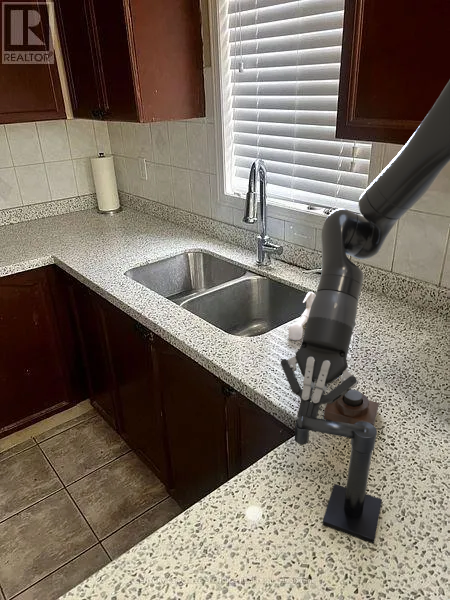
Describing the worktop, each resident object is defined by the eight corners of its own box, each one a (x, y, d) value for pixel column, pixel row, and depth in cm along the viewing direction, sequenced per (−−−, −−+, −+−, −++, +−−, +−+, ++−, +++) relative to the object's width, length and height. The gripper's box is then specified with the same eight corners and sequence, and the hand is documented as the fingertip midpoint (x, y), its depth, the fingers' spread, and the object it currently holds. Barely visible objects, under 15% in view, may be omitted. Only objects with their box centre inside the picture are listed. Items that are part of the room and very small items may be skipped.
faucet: (287, 349, 126) (284, 326, 119) (307, 306, 137) (305, 282, 130) (301, 352, 124) (299, 329, 118) (319, 309, 135) (318, 285, 128)
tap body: (381, 503, 75) (393, 436, 68) (373, 544, 69) (386, 474, 62) (333, 487, 78) (341, 421, 72) (322, 525, 72) (329, 456, 65)
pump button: (362, 398, 94) (363, 391, 93) (359, 408, 91) (360, 402, 90) (345, 394, 95) (346, 387, 94) (342, 404, 92) (342, 397, 92)
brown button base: (377, 410, 96) (380, 396, 94) (372, 432, 90) (374, 416, 88) (331, 399, 99) (332, 384, 98) (323, 418, 94) (324, 403, 92)
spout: (373, 445, 68) (377, 422, 66) (373, 461, 65) (377, 438, 63) (296, 430, 71) (297, 408, 69) (292, 445, 69) (293, 423, 67)
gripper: (288, 308, 74) (259, 412, 70) (370, 324, 68) (344, 437, 64) (296, 321, 80) (271, 416, 76) (372, 336, 75) (349, 440, 71)
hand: (305, 426), depth 70 cm, fingers closed
